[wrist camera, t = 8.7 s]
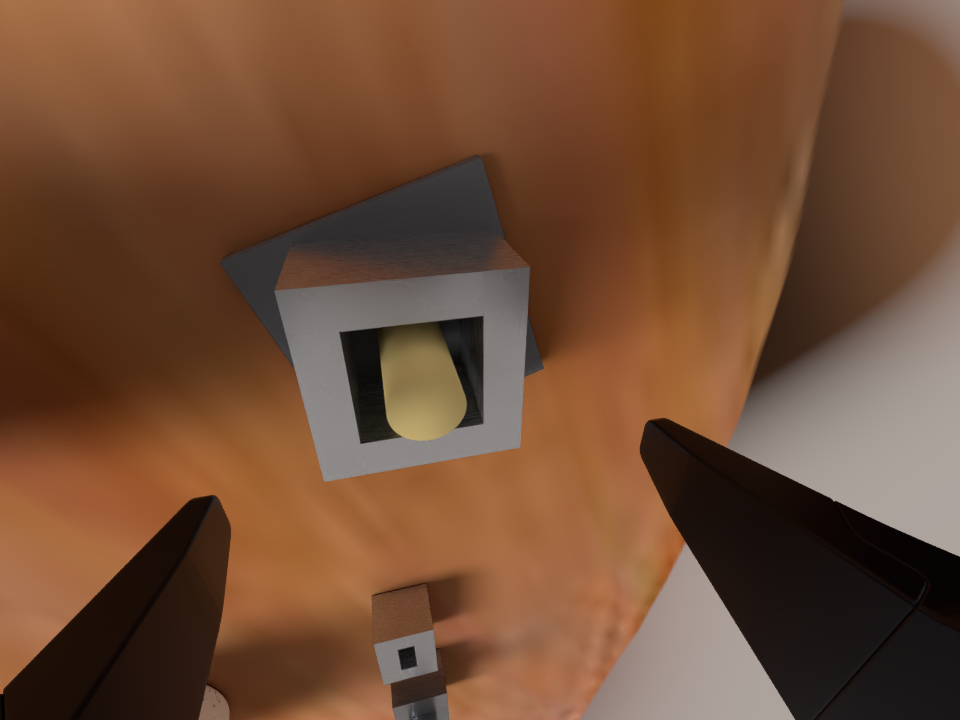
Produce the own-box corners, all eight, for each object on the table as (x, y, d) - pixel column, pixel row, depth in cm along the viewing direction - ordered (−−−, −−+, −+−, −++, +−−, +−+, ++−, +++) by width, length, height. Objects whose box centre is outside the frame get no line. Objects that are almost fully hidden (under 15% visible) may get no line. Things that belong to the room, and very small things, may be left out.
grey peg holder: (351, 440, 18) (351, 557, 13) (223, 257, 13) (161, 344, 9) (539, 361, 18) (600, 452, 14) (477, 155, 13) (537, 190, 9)
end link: (491, 385, 17) (520, 447, 14) (328, 409, 16) (324, 481, 13) (493, 228, 14) (530, 267, 11) (291, 243, 13) (274, 291, 10)
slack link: (431, 624, 26) (438, 670, 24) (381, 637, 25) (383, 685, 23) (426, 583, 24) (433, 629, 22) (371, 596, 23) (373, 644, 21)
